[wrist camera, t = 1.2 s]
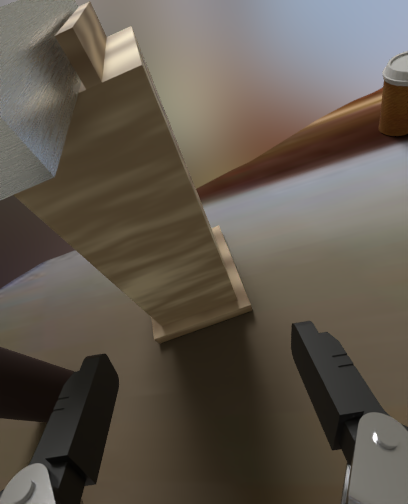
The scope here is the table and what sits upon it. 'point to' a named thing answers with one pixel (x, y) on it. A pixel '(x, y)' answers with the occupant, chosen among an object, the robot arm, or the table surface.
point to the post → (134, 190)
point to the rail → (33, 92)
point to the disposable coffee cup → (395, 97)
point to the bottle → (29, 386)
